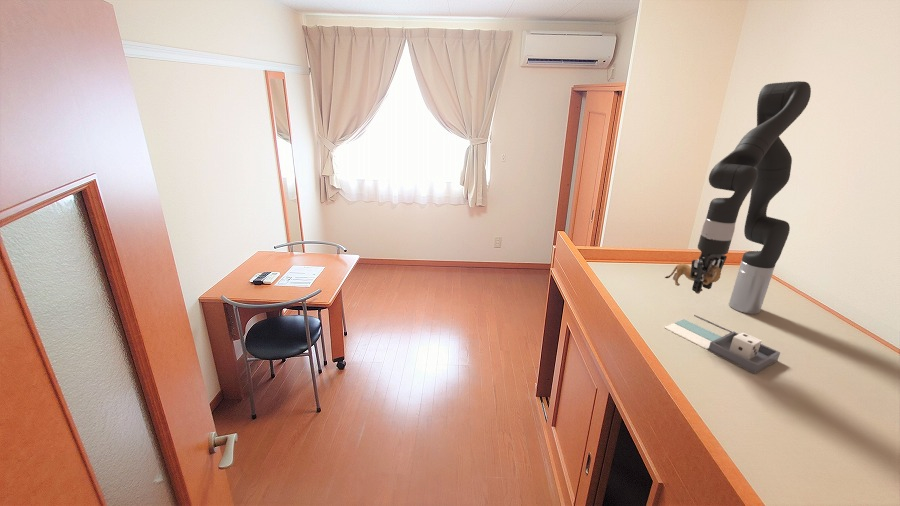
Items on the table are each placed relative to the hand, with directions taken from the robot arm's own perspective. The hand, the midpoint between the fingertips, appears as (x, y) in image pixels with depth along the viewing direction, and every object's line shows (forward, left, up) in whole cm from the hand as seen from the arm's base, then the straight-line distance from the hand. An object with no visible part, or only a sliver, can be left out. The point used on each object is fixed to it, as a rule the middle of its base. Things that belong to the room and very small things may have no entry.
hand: (701, 289), depth 119 cm
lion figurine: (0, -3, -1) cm, 3 cm away
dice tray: (-3, +14, -16) cm, 21 cm away
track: (-5, 0, -16) cm, 17 cm away
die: (-3, +14, -15) cm, 21 cm away
